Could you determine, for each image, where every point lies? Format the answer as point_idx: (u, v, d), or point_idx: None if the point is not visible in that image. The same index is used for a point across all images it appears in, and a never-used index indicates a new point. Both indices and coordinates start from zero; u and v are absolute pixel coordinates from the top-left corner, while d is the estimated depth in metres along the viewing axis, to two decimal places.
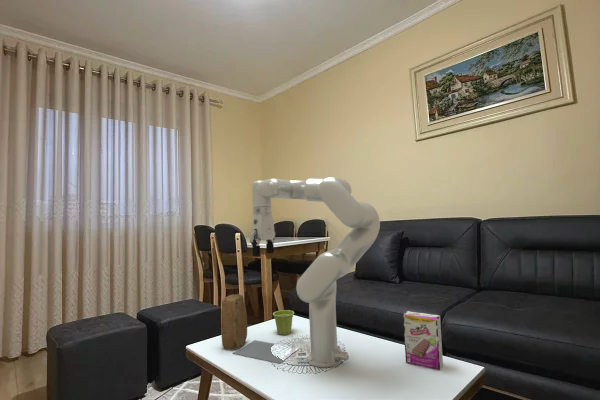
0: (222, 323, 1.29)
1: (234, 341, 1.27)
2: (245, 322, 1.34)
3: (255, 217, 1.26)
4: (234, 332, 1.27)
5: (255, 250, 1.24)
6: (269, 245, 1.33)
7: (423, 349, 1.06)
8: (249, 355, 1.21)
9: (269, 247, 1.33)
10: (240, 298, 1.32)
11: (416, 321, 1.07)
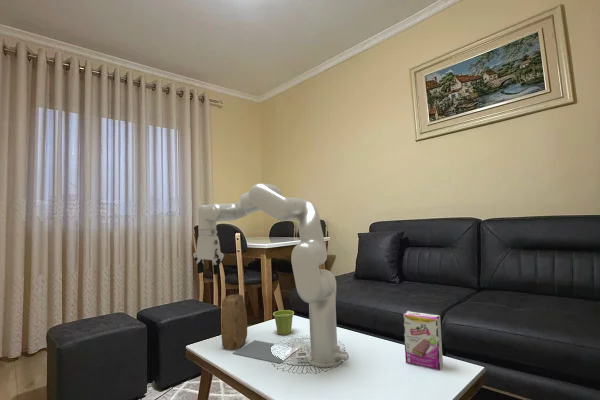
0: (222, 323, 1.29)
1: (234, 341, 1.27)
2: (245, 322, 1.34)
3: (215, 238, 1.39)
4: (234, 332, 1.27)
5: (218, 268, 1.38)
6: (201, 265, 1.43)
7: (423, 349, 1.06)
8: (249, 355, 1.21)
9: (201, 267, 1.42)
10: (240, 298, 1.32)
11: (416, 321, 1.07)
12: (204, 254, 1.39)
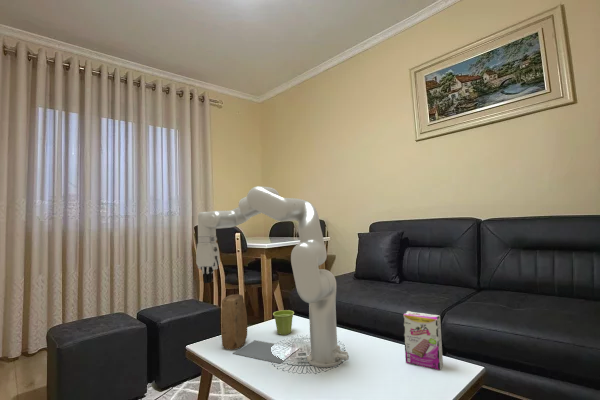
0: (222, 323, 1.29)
1: (234, 341, 1.27)
2: (245, 322, 1.34)
3: (214, 245, 1.39)
4: (234, 332, 1.27)
5: (210, 277, 1.40)
6: None
7: (423, 349, 1.06)
8: (249, 355, 1.21)
9: None
10: (240, 298, 1.32)
11: (416, 321, 1.07)
12: (203, 261, 1.39)
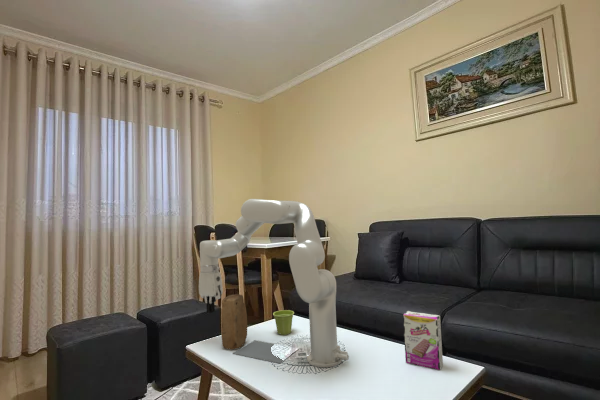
0: (222, 323, 1.29)
1: (234, 341, 1.27)
2: (245, 322, 1.34)
3: (217, 274, 1.38)
4: (234, 332, 1.27)
5: (213, 306, 1.39)
6: None
7: (423, 349, 1.06)
8: (249, 355, 1.21)
9: None
10: (240, 298, 1.32)
11: (416, 321, 1.07)
12: (206, 290, 1.37)
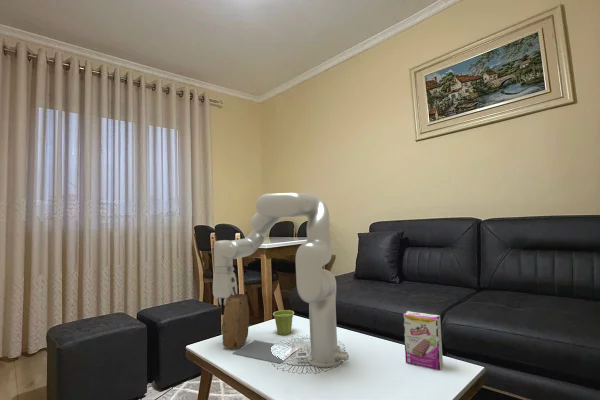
0: (224, 322, 1.28)
1: (235, 341, 1.27)
2: (247, 322, 1.33)
3: (232, 275, 1.34)
4: (235, 332, 1.26)
5: None
6: None
7: (423, 349, 1.06)
8: (249, 355, 1.21)
9: None
10: (244, 298, 1.31)
11: (416, 321, 1.07)
12: (220, 292, 1.34)
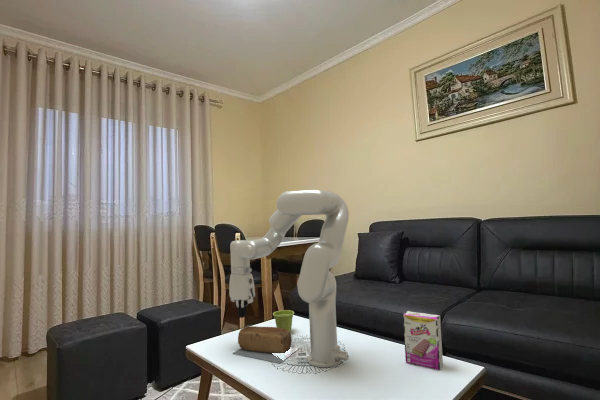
0: (260, 336, 1.23)
1: (245, 348, 1.25)
2: None
3: (249, 277, 1.29)
4: (253, 349, 1.23)
5: (245, 311, 1.30)
6: None
7: (423, 349, 1.06)
8: (249, 355, 1.21)
9: None
10: None
11: (416, 321, 1.07)
12: (237, 294, 1.29)
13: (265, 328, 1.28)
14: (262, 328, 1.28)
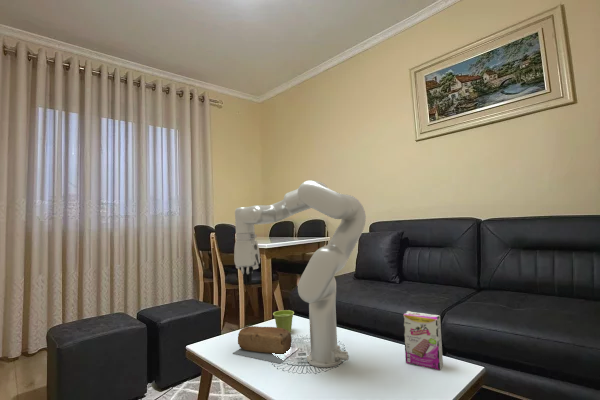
0: (259, 337, 1.23)
1: (245, 348, 1.25)
2: None
3: (254, 243, 1.28)
4: (253, 350, 1.23)
5: (250, 277, 1.29)
6: None
7: (423, 349, 1.06)
8: (249, 355, 1.21)
9: None
10: None
11: (416, 321, 1.07)
12: (243, 260, 1.28)
13: (265, 328, 1.28)
14: (262, 328, 1.28)
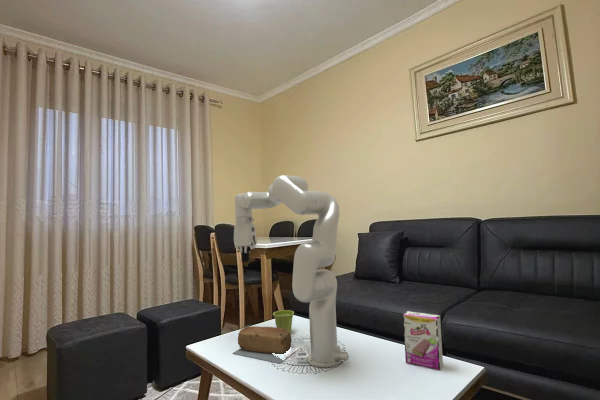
0: (259, 337, 1.23)
1: (245, 348, 1.25)
2: None
3: (252, 225, 1.44)
4: (253, 350, 1.23)
5: (248, 256, 1.45)
6: None
7: (423, 349, 1.06)
8: (249, 355, 1.21)
9: None
10: None
11: (416, 321, 1.07)
12: (241, 240, 1.44)
13: (265, 328, 1.28)
14: (262, 328, 1.28)
